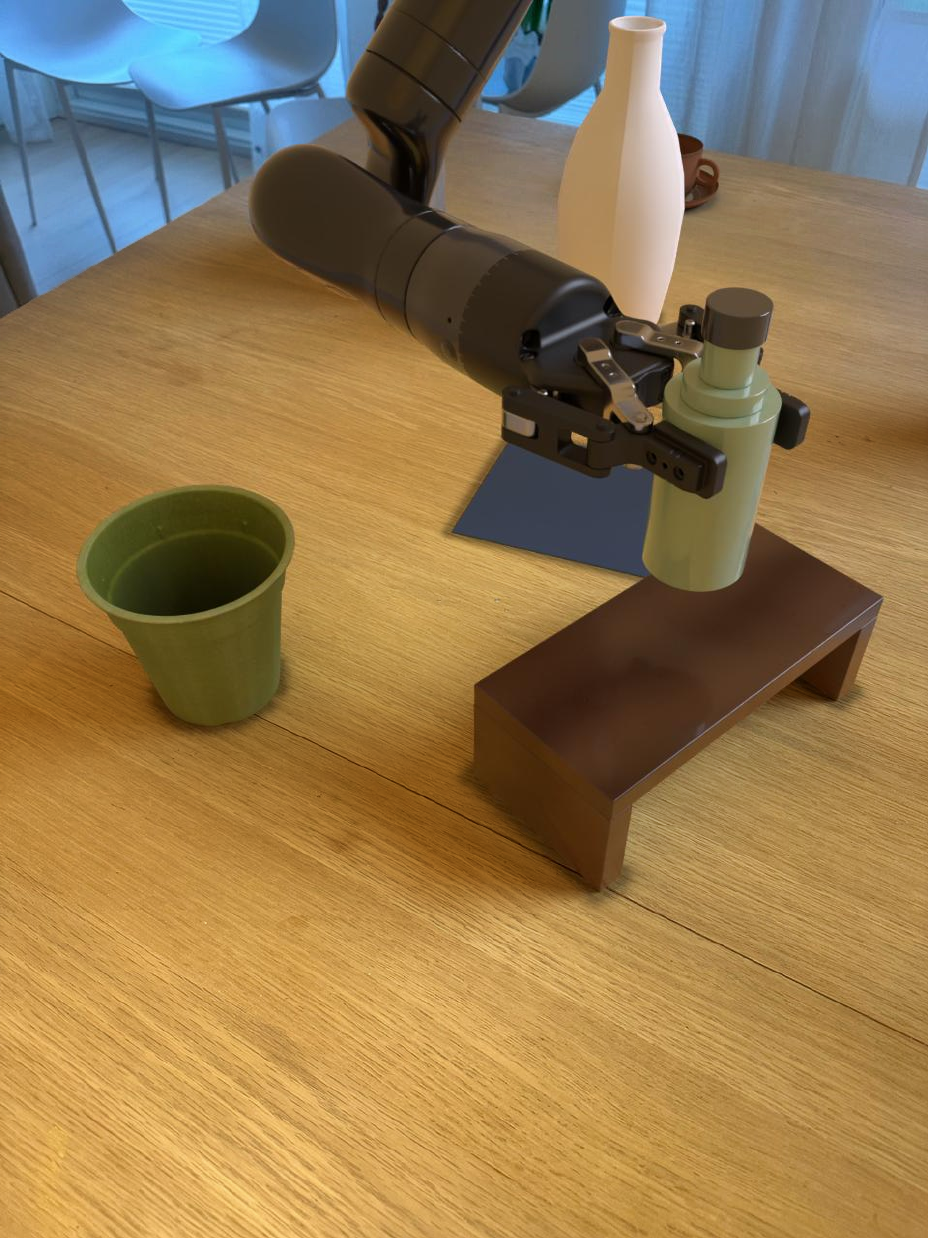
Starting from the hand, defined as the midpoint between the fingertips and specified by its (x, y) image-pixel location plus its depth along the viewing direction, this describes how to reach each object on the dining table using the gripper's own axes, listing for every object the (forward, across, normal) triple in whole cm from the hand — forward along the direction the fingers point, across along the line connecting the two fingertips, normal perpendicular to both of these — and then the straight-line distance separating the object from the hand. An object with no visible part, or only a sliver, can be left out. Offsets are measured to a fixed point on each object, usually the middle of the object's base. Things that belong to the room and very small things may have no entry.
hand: (761, 453), depth 47 cm
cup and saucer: (-57, +61, +22) cm, 86 cm away
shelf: (-2, 0, +21) cm, 21 cm away
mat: (-21, +12, +21) cm, 32 cm away
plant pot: (-23, -18, +21) cm, 36 cm away
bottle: (-40, +35, +21) cm, 57 cm away
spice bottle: (-3, 0, +8) cm, 8 cm away
